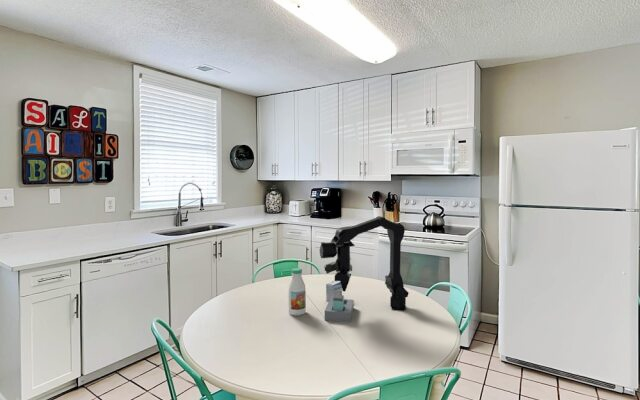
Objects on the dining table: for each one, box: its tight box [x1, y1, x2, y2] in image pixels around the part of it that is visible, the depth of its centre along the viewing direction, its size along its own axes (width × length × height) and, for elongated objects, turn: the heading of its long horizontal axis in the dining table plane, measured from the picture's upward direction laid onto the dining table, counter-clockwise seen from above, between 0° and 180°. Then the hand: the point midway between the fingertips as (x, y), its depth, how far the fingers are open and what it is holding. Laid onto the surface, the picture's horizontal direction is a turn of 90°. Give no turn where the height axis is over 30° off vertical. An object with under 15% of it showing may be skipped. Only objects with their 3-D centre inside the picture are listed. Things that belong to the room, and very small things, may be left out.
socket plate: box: [324, 298, 355, 323], centre depth 160 cm, size 11×16×4 cm
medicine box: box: [325, 280, 343, 302], centre depth 178 cm, size 8×4×9 cm, turn 143°
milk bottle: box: [287, 267, 307, 317], centre depth 161 cm, size 8×8×20 cm
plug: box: [333, 294, 345, 311], centre depth 156 cm, size 4×4×9 cm
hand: (344, 291), depth 160 cm, fingers closed
